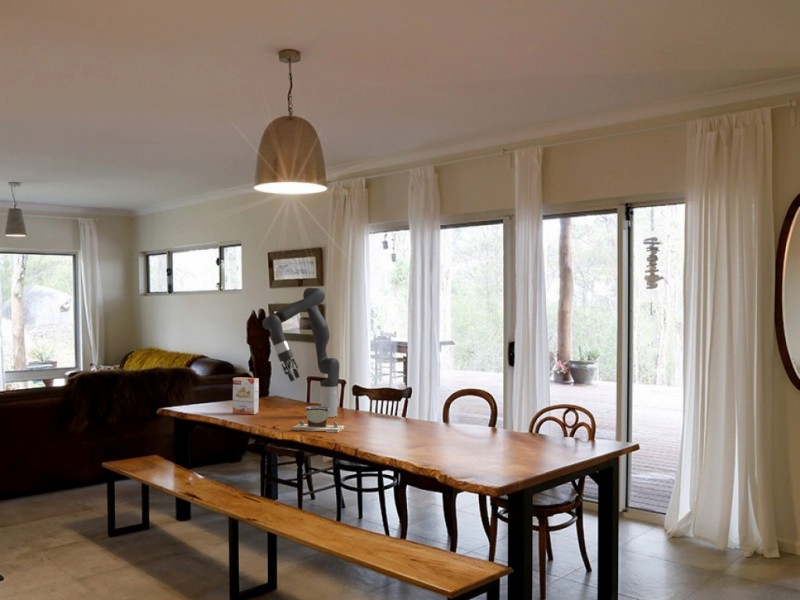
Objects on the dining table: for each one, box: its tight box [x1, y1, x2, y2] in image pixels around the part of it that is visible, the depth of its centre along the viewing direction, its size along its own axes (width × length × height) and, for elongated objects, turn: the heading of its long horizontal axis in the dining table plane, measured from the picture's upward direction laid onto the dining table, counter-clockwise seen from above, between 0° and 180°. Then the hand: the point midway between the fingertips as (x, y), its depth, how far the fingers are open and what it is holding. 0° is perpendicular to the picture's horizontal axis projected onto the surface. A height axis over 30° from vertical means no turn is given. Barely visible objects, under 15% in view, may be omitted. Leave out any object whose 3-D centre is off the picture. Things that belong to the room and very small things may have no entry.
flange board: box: [291, 420, 345, 433], centre depth 346 cm, size 12×24×4 cm, turn 78°
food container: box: [304, 405, 329, 427], centre depth 347 cm, size 12×6×10 cm, turn 83°
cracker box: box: [232, 376, 260, 415], centre depth 396 cm, size 14×6×21 cm, turn 73°
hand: (295, 379), depth 359 cm, fingers open, 8 cm apart
